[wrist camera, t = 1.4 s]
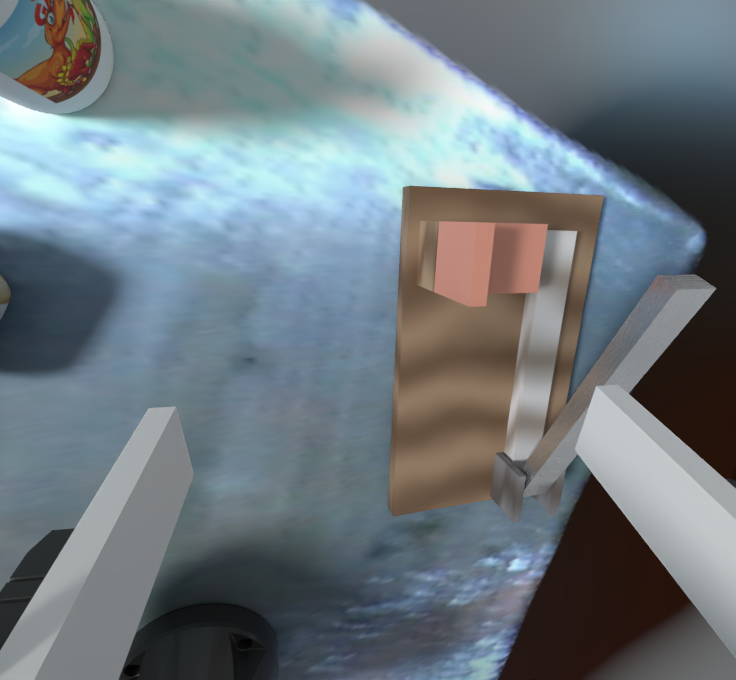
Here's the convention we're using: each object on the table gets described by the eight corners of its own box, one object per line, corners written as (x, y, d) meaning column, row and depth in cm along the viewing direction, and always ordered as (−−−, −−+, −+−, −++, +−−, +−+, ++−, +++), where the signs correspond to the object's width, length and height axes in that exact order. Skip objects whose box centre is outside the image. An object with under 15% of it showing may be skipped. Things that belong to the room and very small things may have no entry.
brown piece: (541, 480, 45) (577, 514, 40) (388, 505, 40) (407, 547, 35) (590, 196, 36) (645, 193, 31) (403, 187, 32) (431, 181, 27)
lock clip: (527, 290, 32) (576, 303, 27) (434, 292, 30) (468, 306, 25) (537, 223, 30) (590, 225, 25) (439, 221, 28) (477, 222, 23)
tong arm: (537, 479, 40) (545, 493, 39) (510, 483, 40) (518, 497, 38) (695, 274, 25) (716, 288, 24) (657, 275, 24) (676, 289, 23)
